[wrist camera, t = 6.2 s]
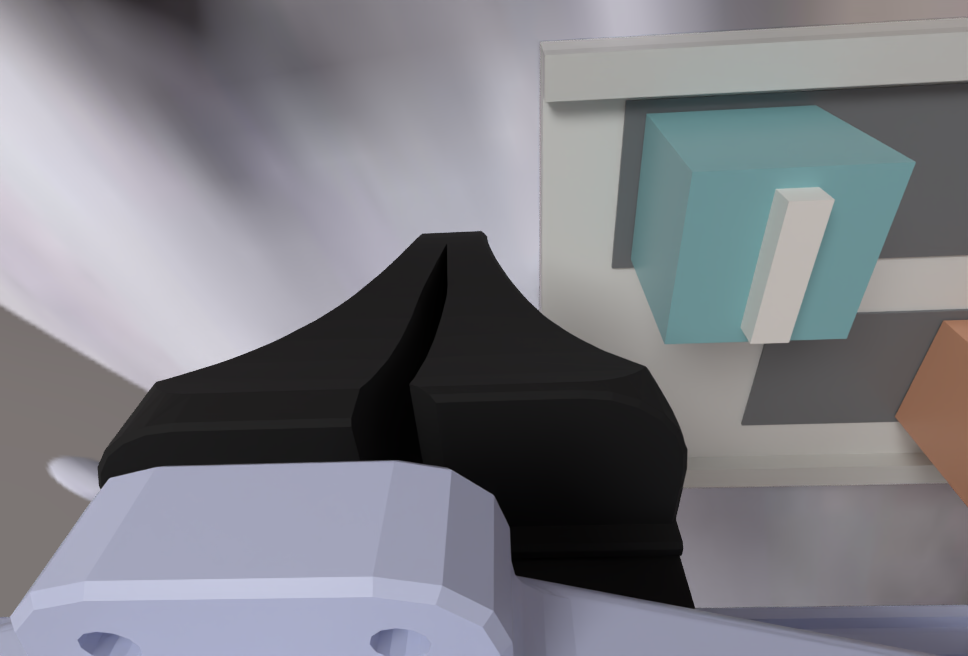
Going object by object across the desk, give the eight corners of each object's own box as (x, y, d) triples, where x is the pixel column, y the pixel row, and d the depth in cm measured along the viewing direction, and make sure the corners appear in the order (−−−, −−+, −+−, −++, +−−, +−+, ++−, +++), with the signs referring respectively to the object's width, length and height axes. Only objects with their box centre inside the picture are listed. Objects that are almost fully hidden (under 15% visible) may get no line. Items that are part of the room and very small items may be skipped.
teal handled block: (815, 105, 14) (936, 173, 10) (774, 253, 16) (860, 355, 12) (646, 113, 14) (701, 184, 10) (630, 259, 16) (671, 360, 12)
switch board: (1221, 3, 13) (1311, 12, 12) (952, 445, 22) (984, 482, 21) (540, 41, 14) (544, 55, 13) (539, 454, 23) (541, 490, 21)
